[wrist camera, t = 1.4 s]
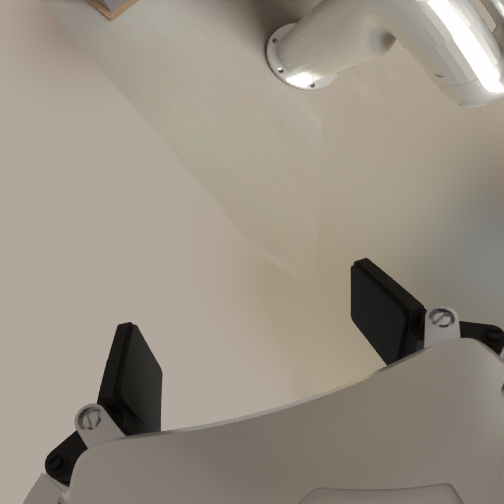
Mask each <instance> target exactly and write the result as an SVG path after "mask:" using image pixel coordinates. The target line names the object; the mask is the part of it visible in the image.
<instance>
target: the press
mask: <svg viewBox="0 0 504 504" xmlns="http://www.w3.org/2000/svg"><path fill="white" fill-rule="evenodd" d="M87 1H88V2H89V3H90V4H92V5H93V6H94V7H95V8H96V9H97V10H98V11H100V12H101V13H102V14H103V15H104V16H105V17H106V18H108V19H109V20H110V21H112V20H113V19H115V18H116V17H117V16H118V15H120V14H121V13H122V12H124V11H125V10H126V9H128V8H129V7H130V6H132V5H133V4H134V3H136V2H137V1H139V0H87Z"/></svg>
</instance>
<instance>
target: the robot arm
mask: <svg viewBox="0 0 504 504" xmlns="http://www.w3.org/2000/svg"><path fill="white" fill-rule="evenodd" d="M480 1H481V2H482V3H483V5H484V6H485V8H486V9H487V11H488V12H489V14H490V15H491V17H492V18H493V20H494V22H495V24H496V28H495V29H494V31H493V32H491V30H490V29H489V27H488V26H487V24H486V23H485V21H484V20H483V18H482V17H481V15H480V14H479V12H478V11H477V9H476V7H475V6H474V4H473V3H472V2H471V0H322V1H321V2H320V3H319V4H317V5H316V6H315V7H314V8H313V9H312V10H311V11H310V12H308V13H307V14H306V15H305V16H304V17H303V18H302V19H301V20H300V21H299V22H298V23H291V24H287V25H284V26H282V27H280V28H279V29H277V30H276V31H275V32H274V33H273V34H272V36H271V37H270V39H269V41H268V44H267V49H266V53H267V59H268V62H269V65H270V67H271V69H272V70H273V72H274V73H275V74H276V75H277V76H278V77H279V78H280V79H281V80H282V81H283V82H285V83H286V84H288V85H290V86H292V87H294V88H297V89H301V90H317V89H321V88H323V87H325V86H327V85H329V84H330V83H332V82H333V80H334V79H335V78H336V76H337V75H338V73H339V71H342V70H345V69H347V68H350V67H353V66H356V65H359V64H362V63H364V62H367V61H371V60H373V59H376V58H379V57H381V56H383V55H385V54H386V53H387V52H388V51H389V50H390V49H391V48H392V47H393V45H394V43H395V41H396V39H397V40H398V41H399V42H400V43H401V44H402V45H403V47H404V48H406V49H407V50H408V51H409V52H410V54H411V55H412V56H413V57H414V58H415V60H416V61H417V62H418V63H419V64H420V66H421V67H422V68H423V69H424V71H425V72H426V73H427V75H428V76H429V77H430V79H431V80H432V81H433V82H434V84H435V85H436V86H437V88H438V89H439V90H440V92H441V93H442V94H443V95H444V96H445V97H446V98H447V99H448V100H450V101H451V102H453V103H454V104H457V105H459V106H463V107H477V106H482V105H486V104H489V103H492V102H494V101H497V100H499V99H501V98H503V97H504V0H480ZM272 41H274V42H275V43H274V42H272ZM279 71H281V73H279ZM310 85H311V87H310ZM351 318H352V320H353V322H354V323H355V324H356V326H357V327H358V328H359V330H360V331H361V332H362V333H363V335H364V336H365V337H366V339H367V340H368V341H369V343H370V344H371V345H372V346H373V348H374V349H375V350H376V352H377V353H378V354H379V355H380V357H381V358H382V359H383V361H384V362H385V363H386V365H387V366H386V367H383V368H381V369H379V370H377V371H375V372H372V373H370V374H368V375H365V376H363V377H361V378H359V379H356V380H354V381H351V382H349V383H346V384H344V385H341V386H339V387H336V388H333V389H331V390H328V391H325V392H322V393H320V394H317V395H314V396H311V397H308V398H305V399H302V400H299V401H296V402H293V403H290V404H286V405H283V406H280V407H277V408H273V409H270V410H266V411H262V412H258V413H254V414H250V415H246V416H242V417H238V418H234V419H229V420H225V421H220V422H215V423H210V424H206V425H199V426H193V427H187V428H181V429H175V430H168V431H161V394H162V370H161V368H160V366H159V364H158V362H157V361H156V359H155V357H154V355H153V354H152V352H151V350H150V348H149V347H148V345H147V343H146V341H145V339H144V338H143V336H142V334H141V332H140V330H139V328H138V326H137V325H133V324H132V323H131V322H129V323H124V324H119V325H118V327H117V330H116V333H115V336H114V340H113V343H112V346H111V350H110V354H109V357H108V360H107V363H106V367H105V371H104V375H103V379H102V383H101V387H100V391H99V396H98V400H97V404H88V405H86V406H84V407H82V408H81V409H80V410H79V411H78V413H77V414H76V417H75V427H76V429H77V430H76V431H75V432H74V433H73V434H72V435H70V436H69V437H68V438H67V439H66V440H64V441H63V442H62V443H61V444H60V445H59V446H57V448H55V449H54V450H53V451H52V452H50V454H49V455H48V456H47V458H46V461H45V469H46V474H43V473H42V474H41V475H40V477H39V478H38V480H37V481H36V483H35V485H34V486H33V488H32V489H31V491H30V492H29V494H28V496H27V497H26V499H25V501H24V503H23V504H504V332H503V330H501V329H500V328H499V327H497V326H494V325H488V324H479V323H471V322H463V321H459V319H458V315H457V314H456V313H455V311H454V310H452V309H451V308H448V307H445V306H435V307H432V308H430V309H429V310H428V311H427V310H426V309H425V308H424V306H423V305H422V304H421V303H420V302H419V301H418V300H416V299H415V298H414V297H413V296H412V295H411V294H410V293H409V292H407V291H406V290H405V289H404V288H403V287H402V286H400V285H399V284H398V283H397V282H396V281H394V280H393V279H392V278H391V277H390V276H388V275H387V274H386V273H385V272H384V271H382V270H381V269H380V268H379V267H378V266H376V265H375V264H374V263H372V262H371V261H370V260H369V259H367V258H364V259H361V260H358V261H355V262H354V265H353V266H351Z"/></svg>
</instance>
